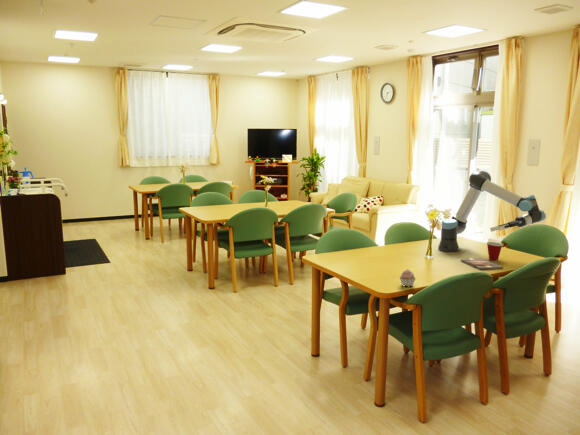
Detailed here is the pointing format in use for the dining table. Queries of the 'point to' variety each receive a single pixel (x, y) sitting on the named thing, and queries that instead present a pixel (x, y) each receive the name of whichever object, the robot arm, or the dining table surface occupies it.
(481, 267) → the book
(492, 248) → the plastic cup
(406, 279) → the cupcake
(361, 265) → the dining table surface
